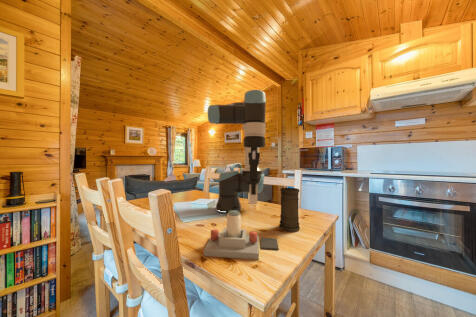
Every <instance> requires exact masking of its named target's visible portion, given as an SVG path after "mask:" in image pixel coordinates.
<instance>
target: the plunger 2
mask: <svg viewBox="0 0 476 317" xmlns="http://www.w3.org/2000/svg"><path fill="white" fill-rule="evenodd" d="M248 234H249V241H250V242H252V243H255V242H257V235H258V232H256V231H250V232H248Z"/></svg>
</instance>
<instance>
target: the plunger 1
mask: <svg viewBox="0 0 476 317" xmlns="http://www.w3.org/2000/svg"><path fill="white" fill-rule="evenodd" d="M219 233H220V232H219V230H218V229H211V230H210V238H211V240H218V235H219Z"/></svg>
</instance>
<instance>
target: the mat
mask: <svg viewBox="0 0 476 317" xmlns="http://www.w3.org/2000/svg"><path fill="white" fill-rule="evenodd" d="M260 240H261V241H260V243H261V244H260V245H261V250H272V251H274V250H275V251H279V250H280V249H279V244H278V239H277V237H276V238H275V237H274V238H273V237H261V238H260Z"/></svg>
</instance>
